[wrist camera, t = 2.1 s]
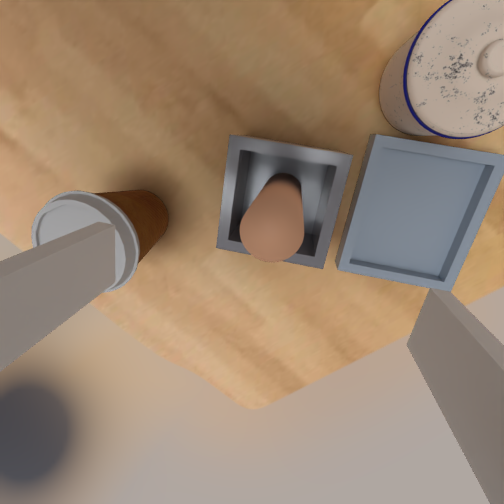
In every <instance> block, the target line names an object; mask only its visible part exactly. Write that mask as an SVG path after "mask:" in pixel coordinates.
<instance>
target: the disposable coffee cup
mask: <svg viewBox="0 0 504 504" xmlns="http://www.w3.org/2000/svg"><path fill="white" fill-rule="evenodd" d="M96 222H103V223H108V224H113V225H115V281H116V282H115V283H114V284H112V285H111V286H110V287H109V288H107V289H106V290H105V291H103V292H102V293H104V292H110V291H113V290H116V289H118V288H120V287H122V286H124V285H125V284H126V283H127V282H128V281H129V280H130V279H131V277H132V276H133V274H134V272H135V271H136V269H137V265H138V263H139V262H140V261H141V260H142V259H143V257H144V256H145V255H146V254H147V252H149V250H150V249H151V248H152V247H153V245H154V244H155V243H156V242H157V240H158V239H159V238H160V237H161V236H162V235H163V234H164V232H165V231H166V229H167V226H168V213H167V210H166V208H165V206H164V204H163V202H162V201H161V200H160V199H159V198H158V197H157V196H156V195H154V194H152V193H150V192H148V191H145V190H135V191H120V192H107V193H89V192H84V191H69V192H64V193H61V194H59V195H56V196H55V197H53V198H52V199H51V200H49V201H48V202H47V203H46V205H45V206H44V207H43V208H42V209H41V210H40V211H39V212H38V214H37V216H36V217H35V220H34V222H33V225H32V244H33V248H35V247H37V246H39V245H42V244H44V243H47V242H49V241H52V240H54V239H57V238H59V237H62V236H64V235H67V234H69V233H71V232H74V231H76V230H79V229H81V228H84V227H86V226H89V225H91V224H94V223H96Z"/></svg>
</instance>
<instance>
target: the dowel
mask: <svg viewBox="0 0 504 504" xmlns="http://www.w3.org/2000/svg"><path fill="white" fill-rule="evenodd" d="M240 238H241V241H242V243H243V245H244V247H245V248H246V250H247V251H248V252H249V253H250V254H251V255H252V256H254V257H255V258H257V259H259V260H262V261H266V262H279V261H283V260H286V259H288V258H290V257H291V256H292V255H294V254H295V253H296V252H297V251H298V249H299V248H300V246H301V244H302V242H303V238H304V219H303V204H302V190H301V185H300V183H299V181H298V180H297V179H296V178H295V177H294V176H293V175H291V174H288V173H278V174H276V175H274V176H272V177H271V178H270V179H269V180H268V181H267V183H266V184H265V185H264V187H263V188H262V190H261V191H260V193H259V194H258V196H257V197H256V198H255V200H254V201H253V203H252V204H251V206H250V207H249V209H248V210H247V211H246V213H245V214H244V216H243V218H242V220H241V224H240Z"/></svg>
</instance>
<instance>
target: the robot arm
mask: <svg viewBox="0 0 504 504" xmlns="http://www.w3.org/2000/svg"><path fill="white" fill-rule="evenodd" d="M115 282H116V281H115V225H113V224H108V223H103V222H96V223H94V224H91V225H89V226H86V227H84V228H81V229H79V230H76V231H74V232H71V233H69V234H67V235H64V236H62V237H59V238H57V239H54V240H52V241H49V242H47V243H44V244H42V245H39V246H37V247H35V248H32V249H30V250H27V251H25V252H22V253H20V254H17V255H15V256H13V257H10V258H8V259H5V260H3V261H0V371H1V370H3V369H4V368H5V367H7V366H8V365H9V364H11V363H12V362H13V361H14V360H16V359H17V358H18V357H19V356H21V355H22V354H23V353H25V352H26V351H27V350H29V349H30V348H31V347H32V346H34V345H35V344H36V343H38V342H39V341H40V340H41V339H43V338H44V337H45V336H47V335H48V334H49V333H50V332H52V331H53V330H54V329H56V328H57V327H58V326H59V325H61V324H62V323H63V322H65V321H66V320H67V319H68V318H70V317H71V316H72V315H74V314H75V313H76V312H78V311H79V310H80V309H81V308H83V307H84V306H85V305H87V304H88V303H89V302H91V301H92V300H93V299H94V298H96V297H97V296H98V295H100V294H101V293H102V292H103V291H105V290H106V289H107V288H109V287H110V286H111V285H112V284H114V283H115ZM407 346H408V348H409V350H410V352H411V354H412V356H413V358H414V360H415V362H416V363H417V365H418V367H419V369H420V371H421V373H422V375H423V377H424V379H425V381H426V383H427V384H428V386H429V388H430V390H431V392H432V394H433V396H434V398H435V399H436V401H437V403H438V405H439V407H440V409H441V411H442V413H443V415H444V417H445V419H446V421H447V423H448V424H449V426H450V428H451V430H452V432H453V434H454V436H455V438H456V439H457V441H458V443H459V445H460V447H461V449H462V451H463V453H464V455H465V457H466V459H467V461H468V462H469V464H470V466H471V468H472V470H473V472H474V474H475V476H476V478H477V479H478V481H479V483H480V485H481V487H482V489H483V491H484V493H485V495H486V497H487V498H488V501H489V502H490V504H504V345H503V344H502V343H501V342H500V341H499V340H498V339H497V338H496V337H495V336H494V335H493V334H492V333H491V332H490V331H489V330H488V329H487V328H486V327H485V326H484V325H483V324H482V323H481V322H480V321H479V320H478V319H477V318H476V317H475V316H474V315H473V314H472V313H471V312H470V311H469V310H468V309H467V308H466V307H465V306H464V305H463V304H462V303H461V302H460V301H459V300H458V299H457V298H456V297H455V296H454V295H453V294H452V293H451V292H449V291H444V290H439V289H434V288H430V289H429V292H428V294H427V296H426V299H425V301H424V304H423V306H422V309H421V311H420V313H419V316H418V318H417V321H416V323H415V326H414V328H413V330H412V333H411V335H410V338H409V340H408V342H407Z"/></svg>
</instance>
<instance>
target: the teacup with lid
mask: <svg viewBox="0 0 504 504" xmlns="http://www.w3.org/2000/svg"><path fill="white" fill-rule="evenodd" d="M379 100H380V105H381V109H382V112H383V114H384V116H385V117H386V119H387V120H388V122H389V123H390V124H391V125H392V126H393V127H394V128H396V129H397V130H399V131H401V132H403V133H406V134H409V135H415V136H441V137H445V138H451V139H467V138H473V137H478V136H481V135H484V134H487V133H490V132H492V131H494V130H496V129H498V128H500V127H502V126H503V125H504V0H449V1H448V2H446V3H445V4H444V5H442V6H441V7H440V8H439V9H438V10H437V11H436V12H435V13H434V14H433V15H432V16H431V17H430V18H429V19H428V20H427V21H426V22H425V24H424V25H423V26H422V28H421V29H420V30H419V31H418V32H417V33H416V34H415V35H414V36H413V37H411V38H410V39H409V40H408V41H407V42H406V43H405V44H403V45H402V46H401V47H400V48H399V49H398V50H397V51H396V52H395V54H394V55H393V56H392V57H391V59H390V60H389V62H388V64H387V66H386V68H385V70H384V72H383V75H382V78H381V82H380V88H379Z"/></svg>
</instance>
